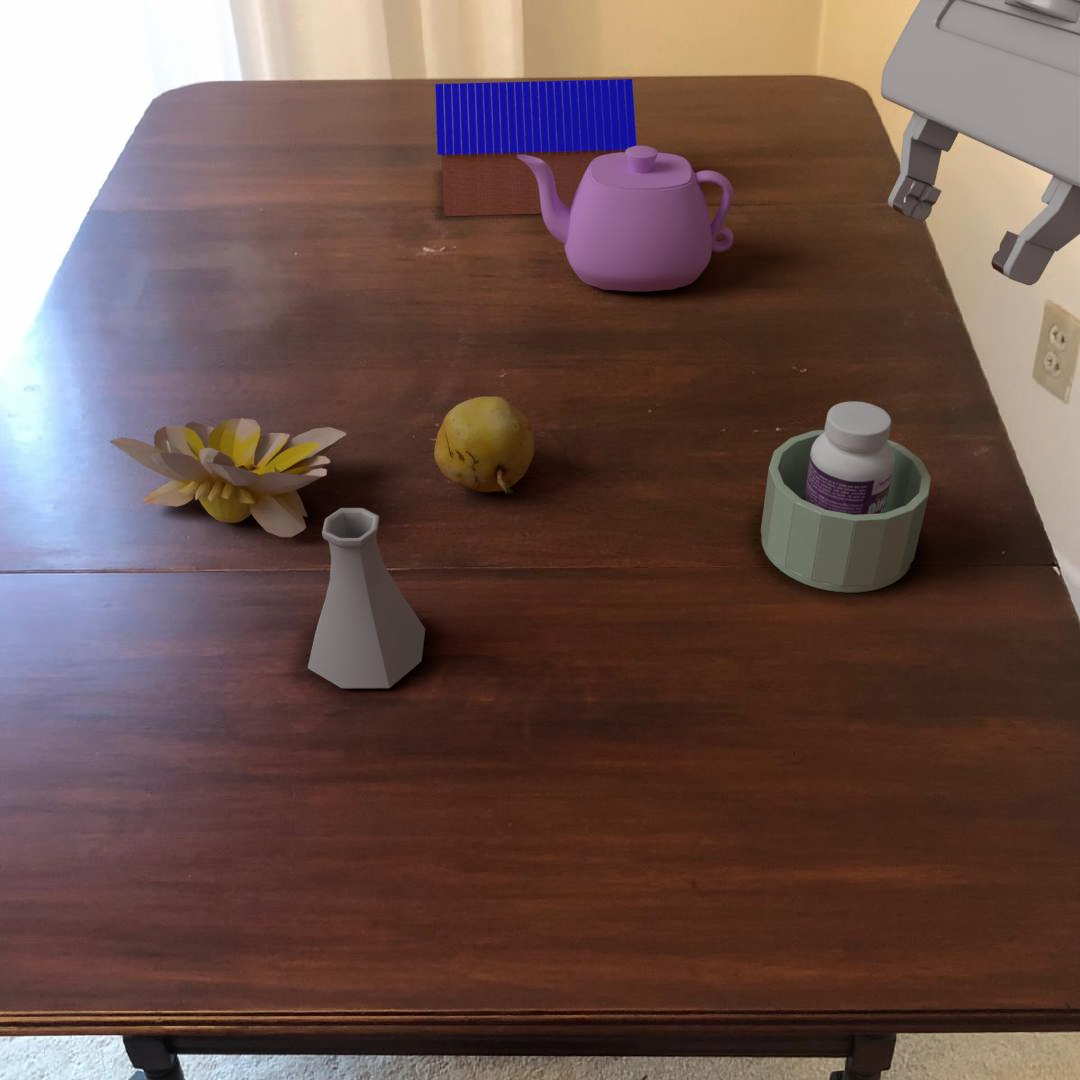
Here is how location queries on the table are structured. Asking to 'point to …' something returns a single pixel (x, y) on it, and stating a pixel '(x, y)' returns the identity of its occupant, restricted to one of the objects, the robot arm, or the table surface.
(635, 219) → the teapot
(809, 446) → the crock
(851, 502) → the pill bottle
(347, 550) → the flask
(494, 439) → the fruit
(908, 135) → the robot arm
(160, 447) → the decorative flower
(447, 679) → the table surface
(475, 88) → the house
